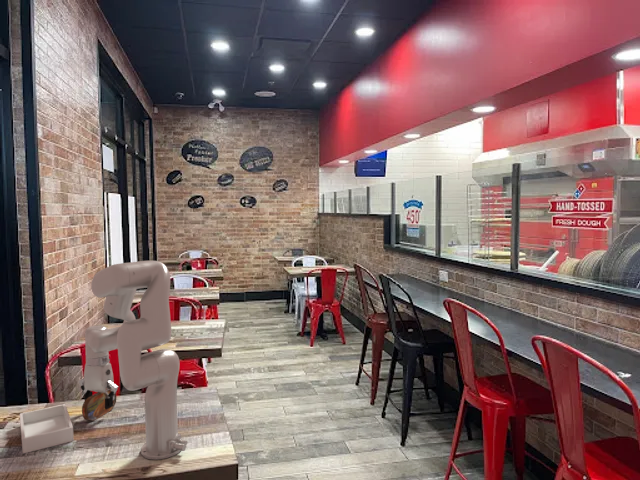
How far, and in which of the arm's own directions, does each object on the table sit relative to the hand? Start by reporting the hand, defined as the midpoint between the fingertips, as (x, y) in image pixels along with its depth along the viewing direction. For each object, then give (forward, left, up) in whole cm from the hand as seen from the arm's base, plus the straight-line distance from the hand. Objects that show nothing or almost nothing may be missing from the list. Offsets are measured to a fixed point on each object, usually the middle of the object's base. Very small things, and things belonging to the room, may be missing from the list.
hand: (98, 405), depth 171 cm
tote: (+6, +17, -3) cm, 18 cm away
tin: (0, 0, -4) cm, 4 cm away
